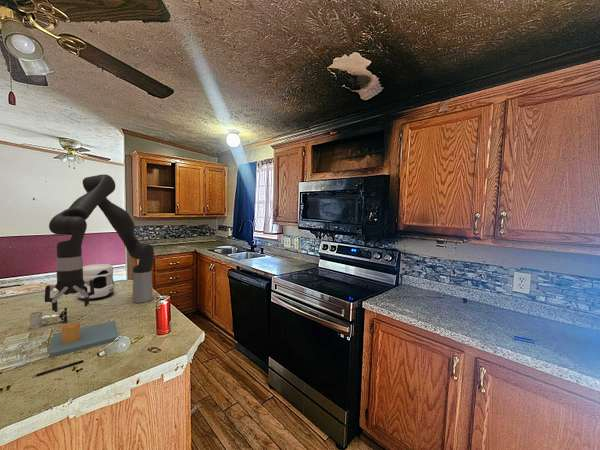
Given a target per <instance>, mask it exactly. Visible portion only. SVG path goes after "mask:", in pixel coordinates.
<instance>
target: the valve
mask: <svg viewBox="0 0 600 450" xmlns="http://www.w3.org/2000/svg"><path fill="white" fill-rule="evenodd" d="M57 318H59V319H61V320H62V321H63V322H66V323H67V322H68V307H63V311H61V312H60V313H59V314H52V315H49V314H45V315H43V311H40V310H38V311H33V312H30V313H29V324H30V325H29V329H30V330H36V329H41V328H42V327H43V325H44V323H43V322H45V323H48V322H49V321H51V319H52V320H56V319H57Z"/></svg>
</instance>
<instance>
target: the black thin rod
mask: <svg viewBox="0 0 600 450" xmlns="http://www.w3.org/2000/svg"><path fill="white" fill-rule="evenodd" d="M83 363H84V359H81V360H78V361H75V362H71V363H69V364H65V365H62V366H61V365H60V366H58V367H55V368H51V369H48V370H45V371H42V372H39V373H36V374H33V375H32V377H31V378H32V379H33V378H36V377H40V376H43V375H46V374H50V373H53V372H56V371H60V370H63V369H67V368H69V367H72V366H75V365H79V364H83Z"/></svg>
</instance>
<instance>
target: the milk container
mask: <svg viewBox="0 0 600 450" xmlns="http://www.w3.org/2000/svg"><path fill="white" fill-rule="evenodd" d="M113 270H114V267H113V264H110V263H94V264H88V265H87V264H86V265H83V280H84V281H89V280H90V279H93V283H94V292H95V294H94V295H91V296H89V300H96V299H102V298H106V297H109V296H111V295H112V294H113V293H114V292H115V289H116V288H115V287H116V286H115V282H114V272H113ZM82 288H83V289H84V290H85V291H86V292H87V293H88V292H90V286H87V284H85V285H84V286H83V287H82ZM76 294H77V297H78V298H79V299H80V300H84V296H83V295H82V294H80V293H79V292H77V293H76Z"/></svg>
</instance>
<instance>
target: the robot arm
mask: <svg viewBox="0 0 600 450" xmlns="http://www.w3.org/2000/svg"><path fill="white" fill-rule="evenodd" d="M82 186H83V188H84V190H85V194H83V195H81V196H79V197H78V198H77V199H75V200H74V202H72V203H71V204H70V206H69V207H68V208H67V209H64V210H62V211H61V212H59V213H57V214H55V216H53V217H52V218H51V219H50V221H49V223H48V229H49V231H50V232H51V233H52V234H54V235H57V236H58V235H59V236H63V235H64V236H65V235H66V236H69V235H71V237H70V239H67V240H63V241H59V242H57V244H56V264H55V269H56V284H46V285H45V287H44V289H45V290H44V302H45V303H51V310H52V312H54V313H57V312H58V311H59V307H58V300H59V299H60V298H61V297H62V296H63V295H65V296H66V295H73V294H77V292H79V293H80V294H82V295H83V296H84V299H83V301H84V303H83V304H84V307H88V305H89V304H90V299H89V296H91V295H94V294H95V292H94V283H93V279H90V280H89V281H84V280H83V266H84V263H83V255H82V254H83V253H82V245H83V240H84V237H85V233H86V231H87V228H88V224H87V221H86V220H88V218H90V215H91V214H92V213H93V211H94V210H96V208H97V207H99V209H100V211H101V212H102V213H103V214H104V216H105V218H106V219H107V221H108V222H109V224H110V225H111V227H112V228H113V229H114V231H115V232H116V233H117V235H118V236H119V238H120V239H121V241H122V243H123V244H124V246H125V249H126V250H127V252H128V253H127V254H129V256H130V257H131V259H135V260H138V264H137V265H134V266H133V268H132V303H135V304H143V303H142V302H144V303H147V301H148V302H150V301H153V299H154V297H153V296H154V295H153V293H154V292H153V282H152V279H153V274H152V273H153V266H154V259H155V257H154V256H155V250H154V246H153V245H152V244H150V243H141V242H140V240H138V238H137V237H136V235H135V223H134V221H133V219H132V217H131V216H130V214H129V212H127V210H125V209H124V208H122V207H120V206H119V205H116V204H115V203H113V202H112V201H111V200H110V199H108V198H107V197H109V196H110V195H111V194H112V193H114V192H115V189H116V181H115V180H114V178H113V177H112V176H111V175H109V174H96V175H92V176H86V177H84V178H83V179H82ZM85 284H87V286H90V292H88V293H87V292H86V291H85V290H84V289H83V288H82V287H83V286H84V285H85ZM54 289H56V290H57V293H56V294H55V295H54V296H53V297H51V292H52V291H53V290H54ZM149 300H150V301H149Z"/></svg>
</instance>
